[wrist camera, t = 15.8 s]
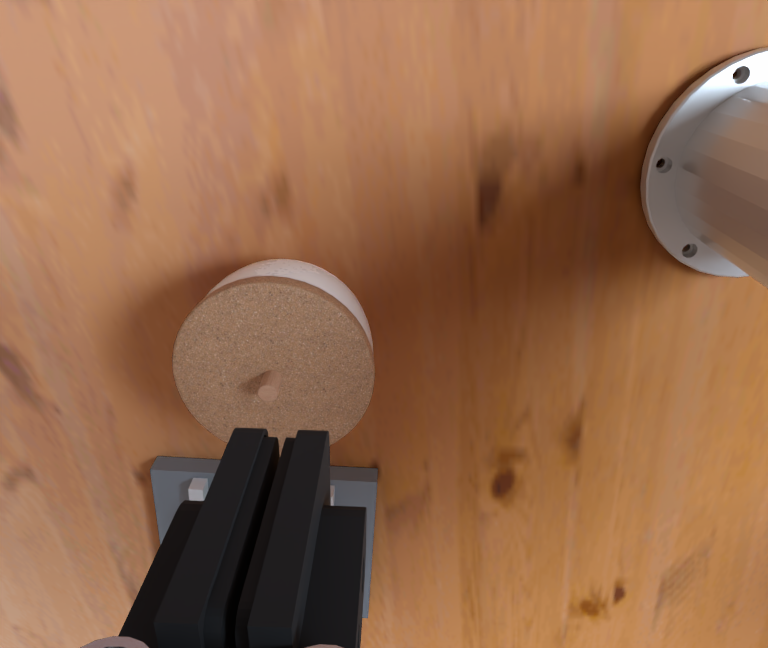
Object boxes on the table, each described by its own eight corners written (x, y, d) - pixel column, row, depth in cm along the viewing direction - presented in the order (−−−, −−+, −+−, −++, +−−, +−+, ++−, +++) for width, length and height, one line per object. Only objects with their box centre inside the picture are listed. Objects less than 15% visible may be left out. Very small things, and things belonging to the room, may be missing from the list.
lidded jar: (202, 231, 37) (145, 292, 28) (380, 237, 37) (376, 299, 28) (218, 383, 41) (173, 474, 33) (376, 388, 41) (371, 481, 33)
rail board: (377, 468, 44) (376, 494, 42) (368, 602, 51) (367, 631, 48) (157, 456, 44) (143, 481, 42) (175, 592, 50) (163, 620, 48)
